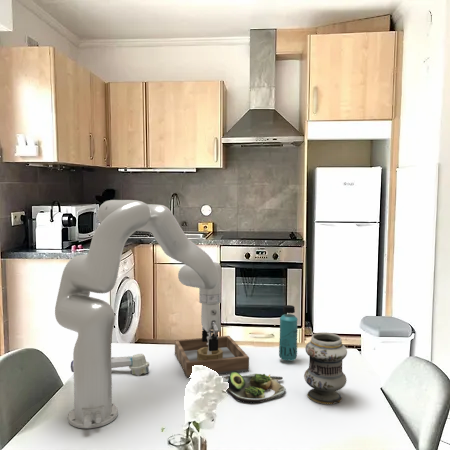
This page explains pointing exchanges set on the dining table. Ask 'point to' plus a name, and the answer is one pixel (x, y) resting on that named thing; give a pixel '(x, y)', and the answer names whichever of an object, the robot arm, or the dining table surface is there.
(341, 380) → the apothecary jar
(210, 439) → the dining table surface
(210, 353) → the chess piece
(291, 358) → the beverage bottle
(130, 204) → the robot arm
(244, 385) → the avocado toast plate
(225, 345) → the socket box
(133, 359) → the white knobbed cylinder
